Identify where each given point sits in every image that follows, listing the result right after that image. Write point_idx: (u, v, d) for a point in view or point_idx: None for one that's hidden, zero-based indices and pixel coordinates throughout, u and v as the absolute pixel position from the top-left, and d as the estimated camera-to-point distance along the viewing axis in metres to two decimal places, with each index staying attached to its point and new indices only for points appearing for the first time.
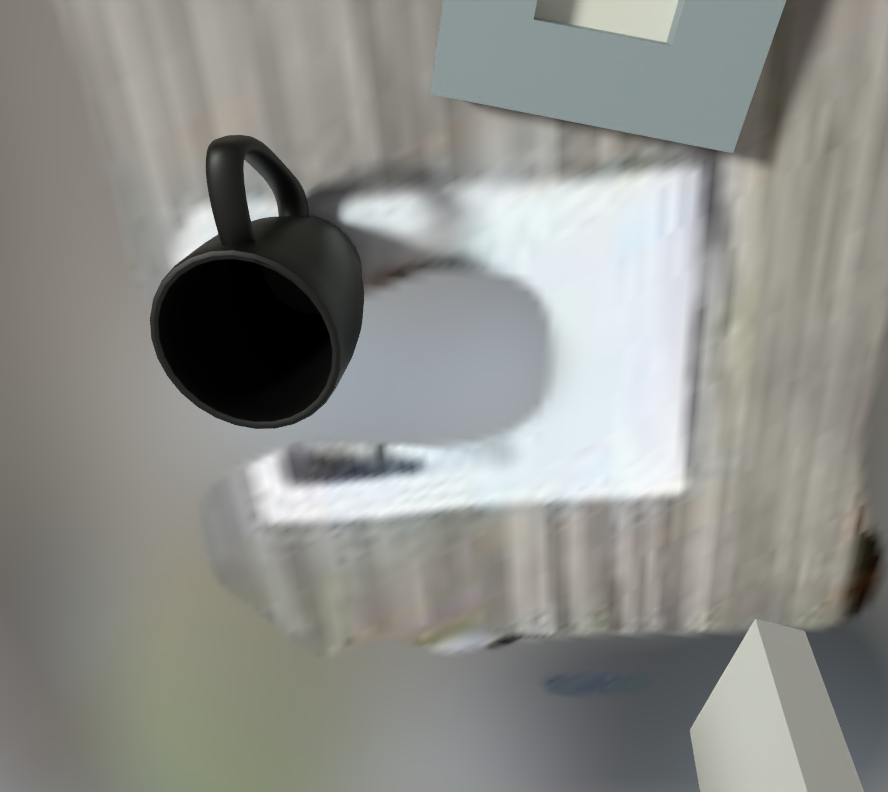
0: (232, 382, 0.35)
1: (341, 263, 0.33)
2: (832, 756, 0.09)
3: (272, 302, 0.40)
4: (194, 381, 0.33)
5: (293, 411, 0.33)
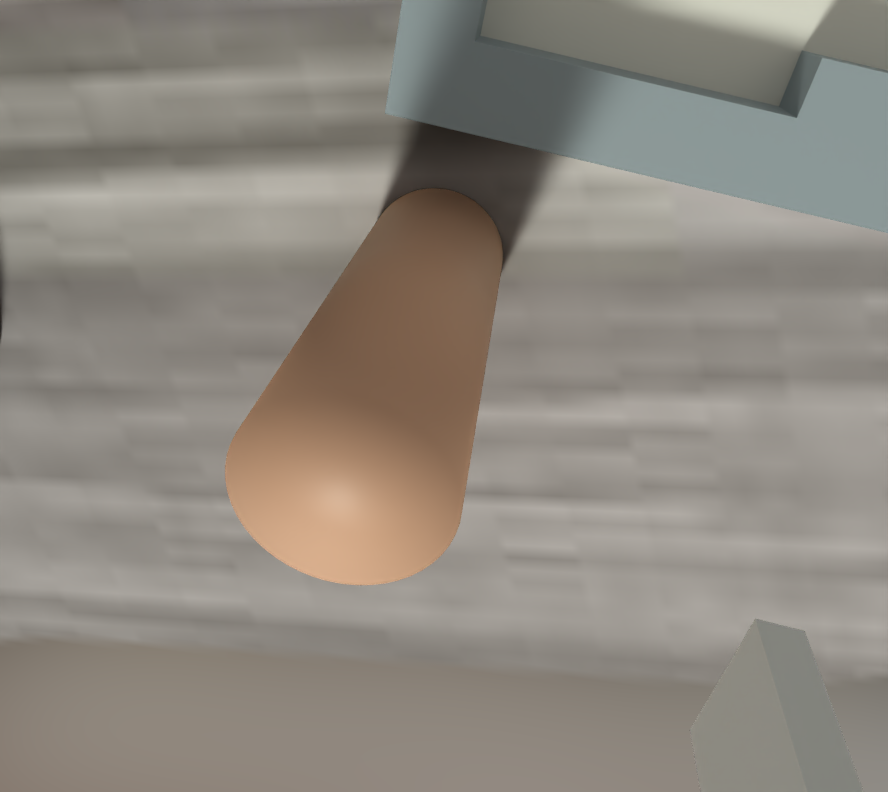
0: None
1: None
2: (832, 756, 0.09)
3: None
4: None
5: None
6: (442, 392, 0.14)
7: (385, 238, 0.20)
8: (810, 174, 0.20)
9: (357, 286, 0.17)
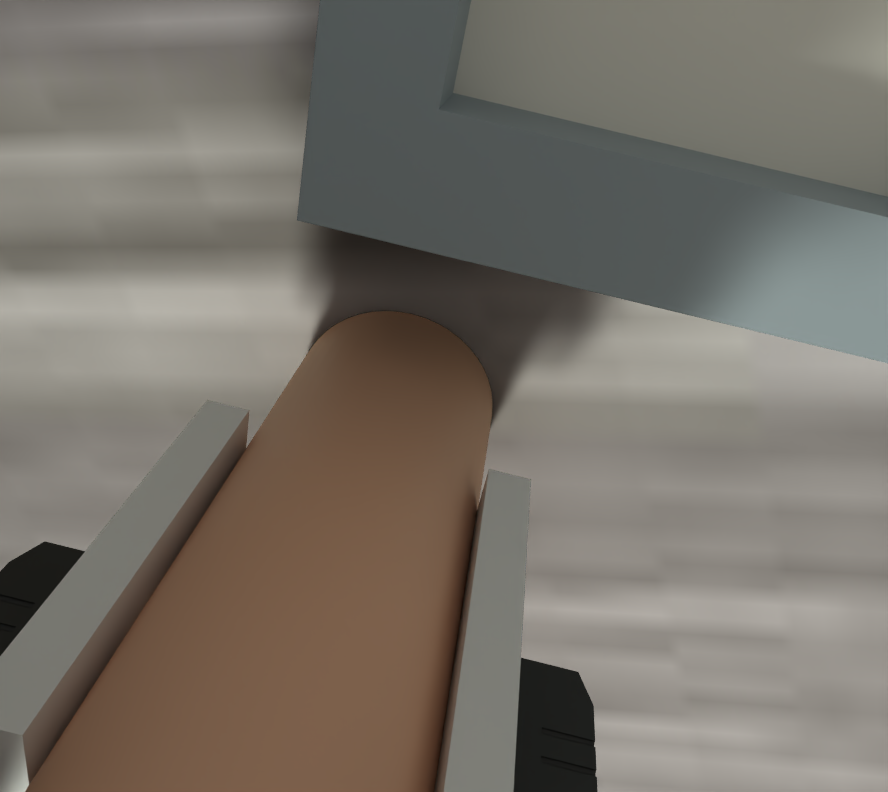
0: None
1: None
2: (510, 559, 0.11)
3: None
4: None
5: None
6: None
7: (290, 433, 0.12)
8: None
9: (206, 583, 0.09)
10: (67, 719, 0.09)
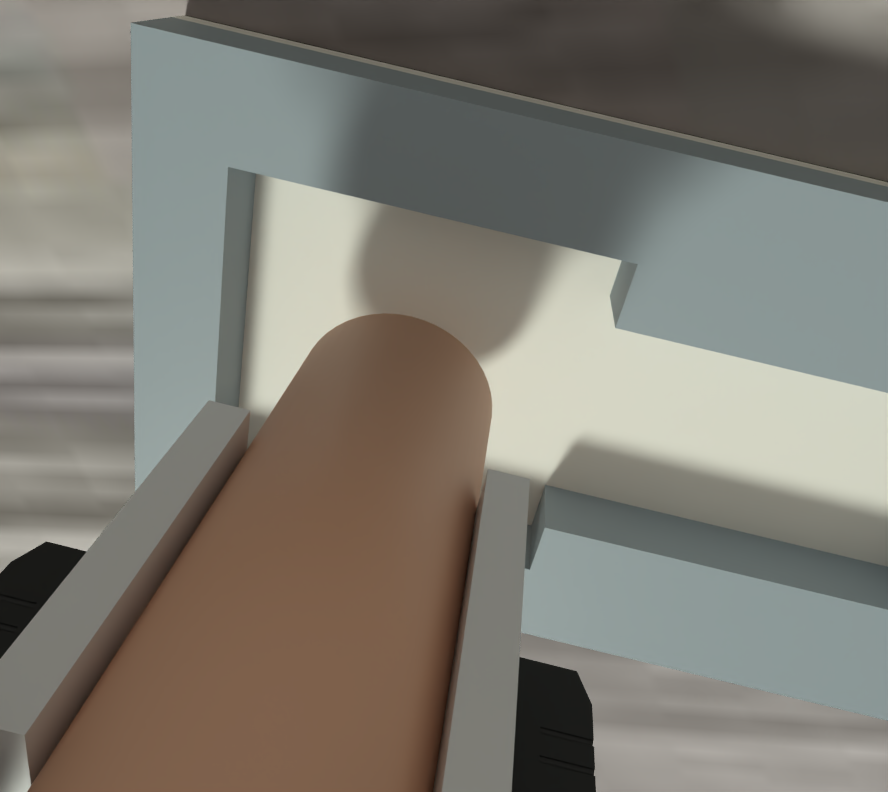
0: None
1: None
2: (508, 558, 0.11)
3: None
4: None
5: None
6: None
7: (290, 436, 0.12)
8: (551, 612, 0.20)
9: (205, 586, 0.09)
10: (69, 719, 0.09)
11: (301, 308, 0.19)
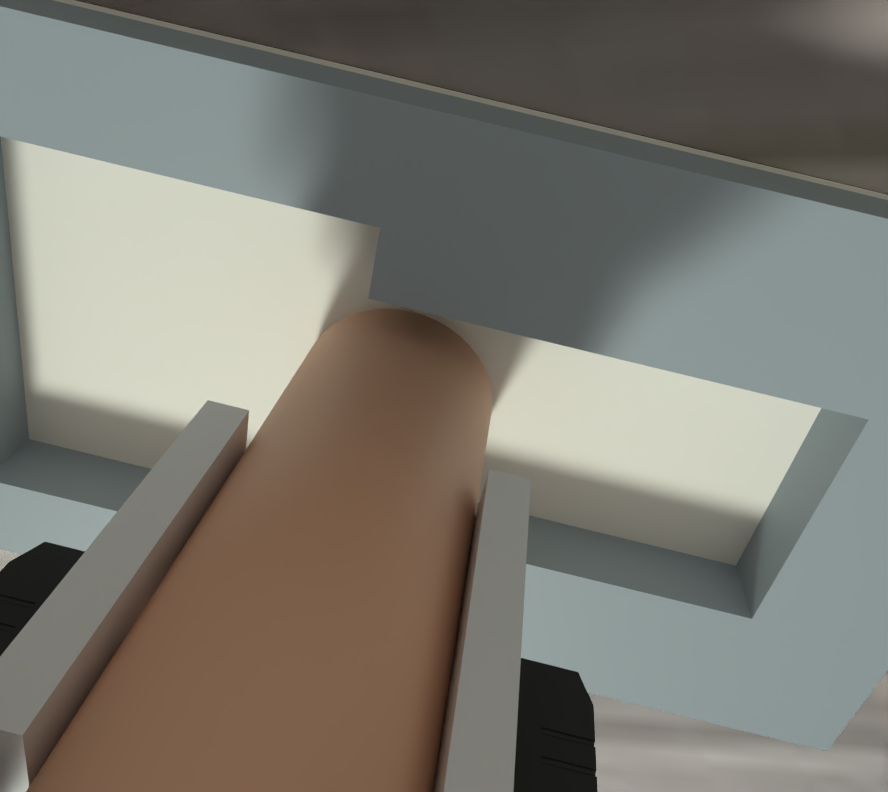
0: None
1: None
2: (509, 559, 0.11)
3: None
4: None
5: None
6: None
7: (294, 427, 0.12)
8: None
9: (212, 571, 0.09)
10: (67, 719, 0.09)
11: (71, 281, 0.17)
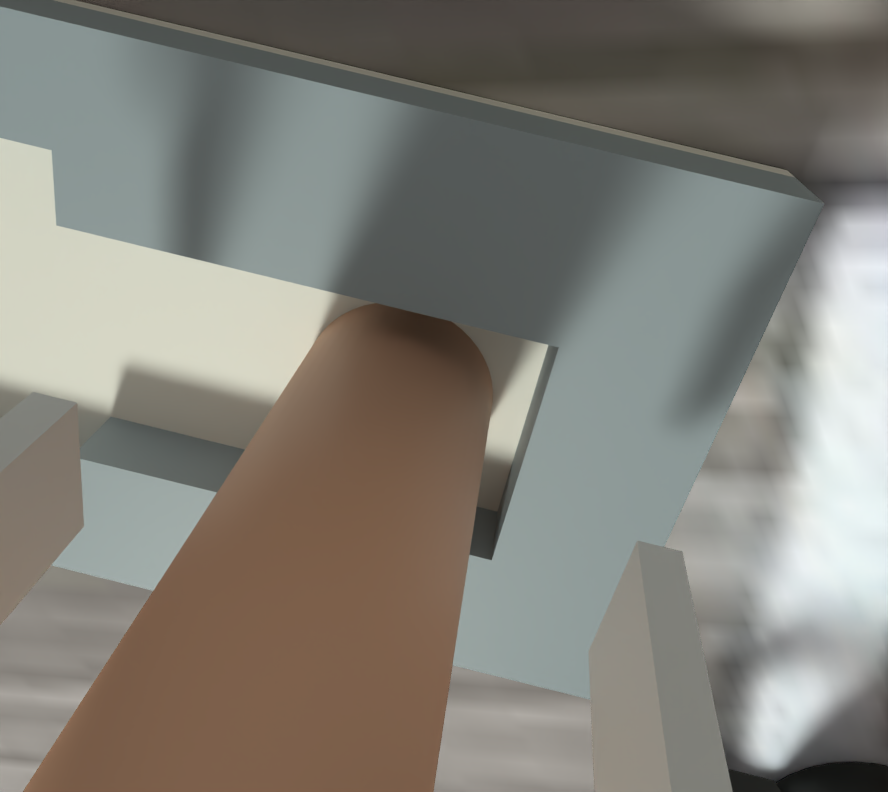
0: None
1: None
2: (686, 650, 0.10)
3: None
4: None
5: None
6: None
7: (300, 415, 0.13)
8: (112, 552, 0.19)
9: (223, 550, 0.10)
10: None
11: None
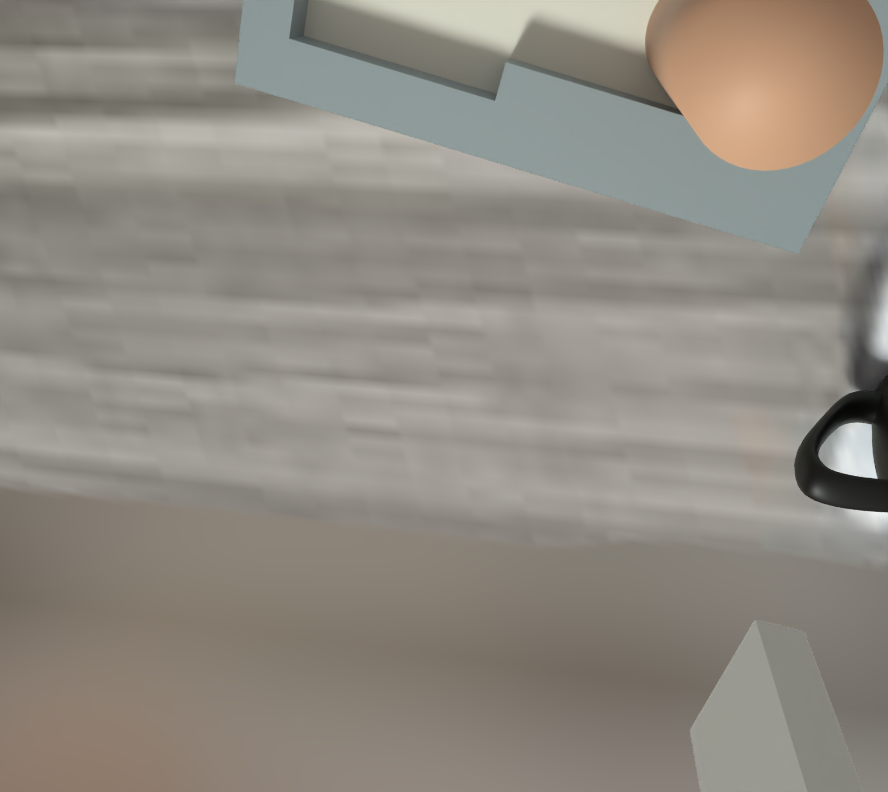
0: None
1: None
2: (832, 756, 0.09)
3: None
4: None
5: None
6: None
7: None
8: (508, 139, 0.30)
9: None
10: None
11: None
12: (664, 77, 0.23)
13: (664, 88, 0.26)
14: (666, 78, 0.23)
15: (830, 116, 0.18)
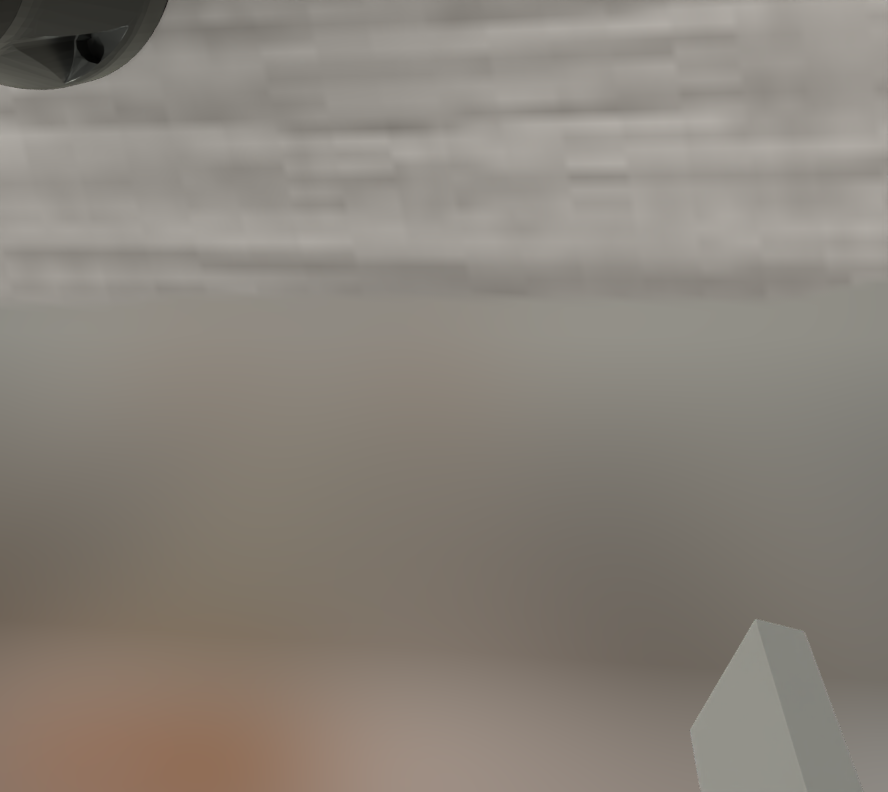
0: None
1: None
2: (832, 756, 0.09)
3: None
4: None
5: None
6: None
7: None
8: None
9: None
10: None
11: None
12: None
13: None
14: None
15: None
